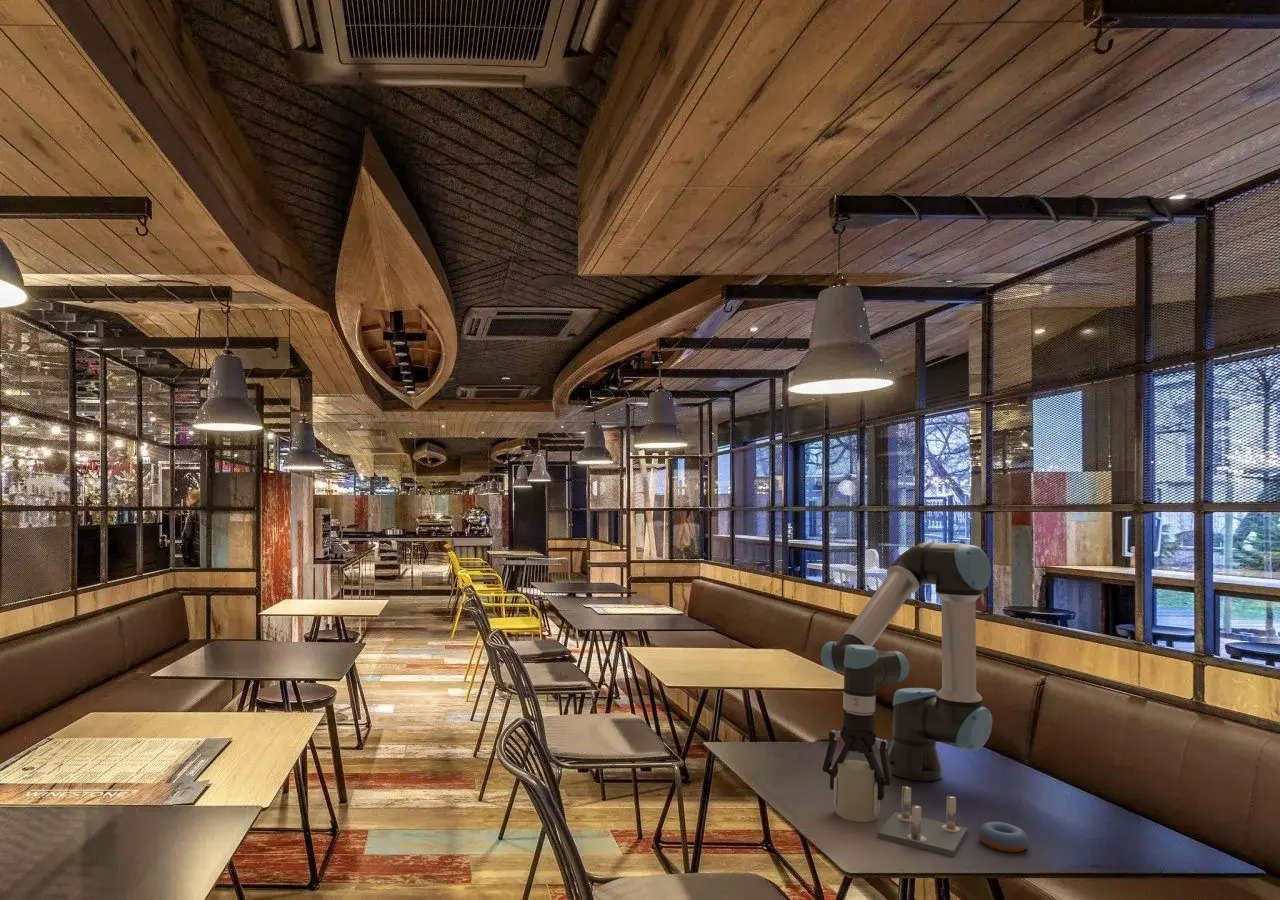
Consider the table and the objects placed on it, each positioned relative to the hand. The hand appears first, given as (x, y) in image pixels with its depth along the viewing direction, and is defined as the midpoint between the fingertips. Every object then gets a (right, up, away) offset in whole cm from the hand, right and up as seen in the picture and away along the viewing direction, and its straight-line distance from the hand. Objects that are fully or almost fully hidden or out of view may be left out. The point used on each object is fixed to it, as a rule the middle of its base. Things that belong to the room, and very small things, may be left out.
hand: (856, 808), depth 194 cm
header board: (+12, -1, -11) cm, 16 cm away
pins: (+12, 0, -12) cm, 16 cm away
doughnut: (+29, -2, -14) cm, 32 cm away
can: (0, -2, 0) cm, 2 cm away
